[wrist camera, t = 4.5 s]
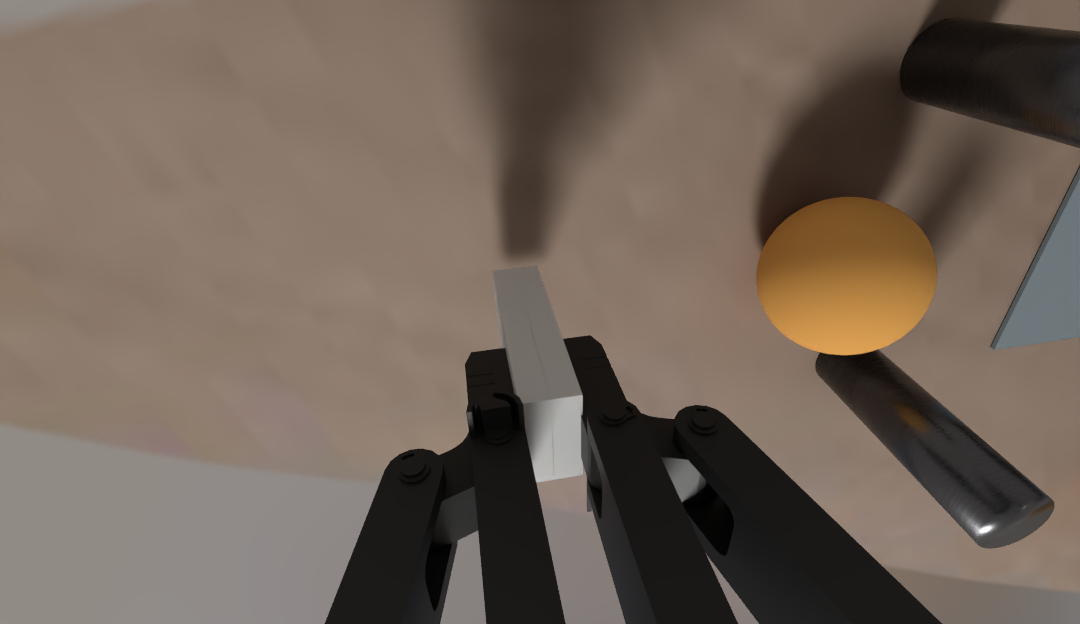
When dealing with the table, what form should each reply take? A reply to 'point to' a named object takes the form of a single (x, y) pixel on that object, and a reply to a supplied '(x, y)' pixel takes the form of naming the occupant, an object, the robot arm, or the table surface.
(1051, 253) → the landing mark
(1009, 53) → the post
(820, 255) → the ball
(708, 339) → the table surface
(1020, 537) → the post
